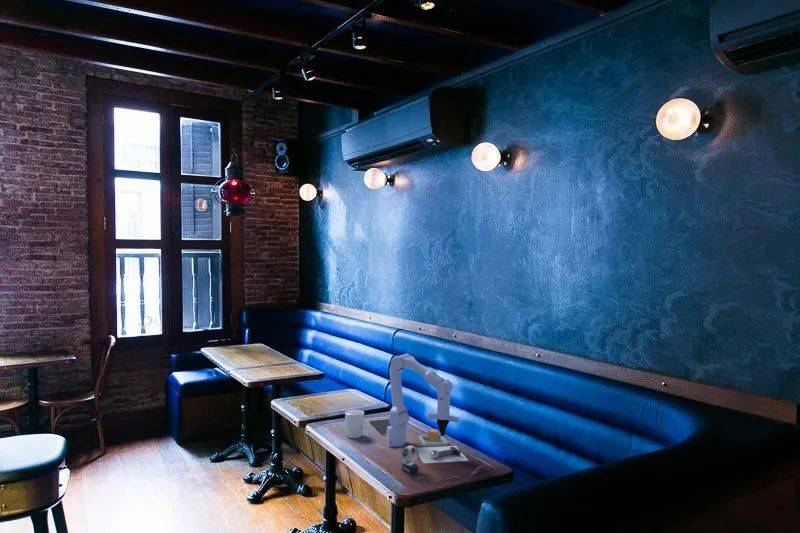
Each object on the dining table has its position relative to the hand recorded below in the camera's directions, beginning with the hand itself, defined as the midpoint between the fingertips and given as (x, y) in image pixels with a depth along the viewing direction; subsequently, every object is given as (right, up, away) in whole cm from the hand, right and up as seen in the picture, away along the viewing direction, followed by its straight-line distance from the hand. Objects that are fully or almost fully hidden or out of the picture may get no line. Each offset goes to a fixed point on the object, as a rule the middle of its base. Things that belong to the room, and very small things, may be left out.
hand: (442, 435), depth 254 cm
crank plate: (-1, -9, -1) cm, 9 cm away
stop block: (-3, -8, +15) cm, 18 cm away
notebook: (-27, -8, +38) cm, 47 cm away
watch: (-16, -10, -20) cm, 27 cm away
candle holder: (-43, -8, +24) cm, 50 cm away
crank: (0, -8, -4) cm, 9 cm away
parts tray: (-4, -9, +15) cm, 18 cm away
